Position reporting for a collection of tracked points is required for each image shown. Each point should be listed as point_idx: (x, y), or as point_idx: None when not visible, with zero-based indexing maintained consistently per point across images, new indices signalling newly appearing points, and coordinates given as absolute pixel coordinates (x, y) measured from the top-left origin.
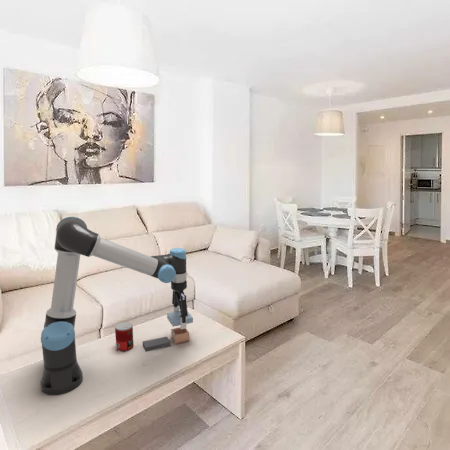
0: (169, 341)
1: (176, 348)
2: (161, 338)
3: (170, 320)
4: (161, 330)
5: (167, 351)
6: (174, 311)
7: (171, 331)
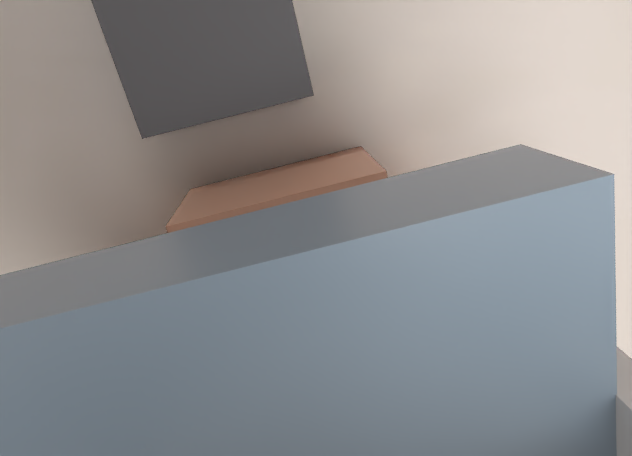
0: (159, 123)
1: (91, 196)
2: (264, 4)
3: (191, 252)
4: (588, 21)
5: (20, 83)
6: (626, 414)
7: (362, 169)
